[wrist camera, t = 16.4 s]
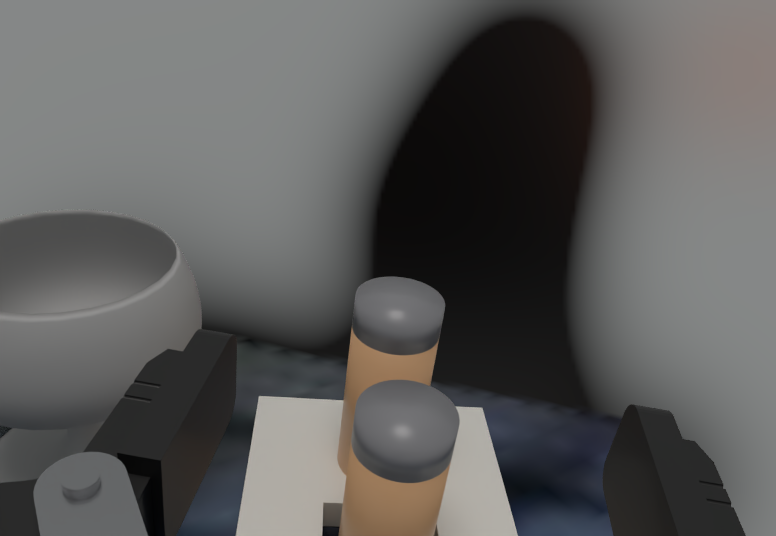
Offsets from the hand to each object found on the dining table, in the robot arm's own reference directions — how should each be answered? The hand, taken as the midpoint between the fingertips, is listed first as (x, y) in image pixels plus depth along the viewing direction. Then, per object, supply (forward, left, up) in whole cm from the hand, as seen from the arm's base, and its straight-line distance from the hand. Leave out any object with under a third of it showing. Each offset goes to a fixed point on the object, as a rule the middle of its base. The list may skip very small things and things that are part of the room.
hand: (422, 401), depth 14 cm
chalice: (-16, +21, -24) cm, 36 cm away
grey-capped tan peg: (+2, +14, -24) cm, 28 cm away
